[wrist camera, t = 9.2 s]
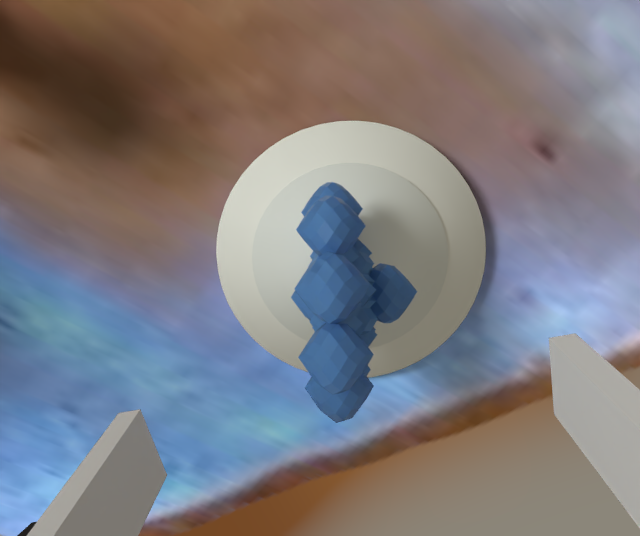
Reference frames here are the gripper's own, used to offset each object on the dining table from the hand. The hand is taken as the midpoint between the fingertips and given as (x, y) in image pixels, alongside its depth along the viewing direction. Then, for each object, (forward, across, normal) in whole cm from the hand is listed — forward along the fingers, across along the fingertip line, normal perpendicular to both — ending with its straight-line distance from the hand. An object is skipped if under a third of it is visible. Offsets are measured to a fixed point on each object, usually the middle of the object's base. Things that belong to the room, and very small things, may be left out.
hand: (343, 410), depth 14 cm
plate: (+17, +1, 0) cm, 17 cm away
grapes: (+16, +1, 0) cm, 16 cm away
